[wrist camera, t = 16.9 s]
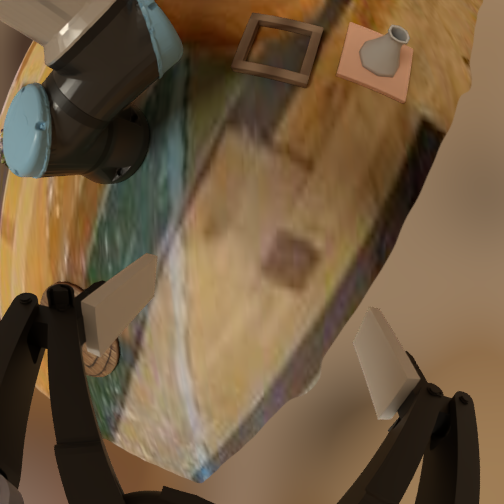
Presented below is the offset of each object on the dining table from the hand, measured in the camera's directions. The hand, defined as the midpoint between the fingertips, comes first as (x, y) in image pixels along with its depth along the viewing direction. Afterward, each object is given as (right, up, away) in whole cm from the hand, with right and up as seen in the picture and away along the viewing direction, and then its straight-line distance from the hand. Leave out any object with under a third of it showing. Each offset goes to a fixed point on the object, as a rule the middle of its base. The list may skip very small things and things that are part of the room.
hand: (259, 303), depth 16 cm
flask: (+20, +34, +17) cm, 43 cm away
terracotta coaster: (+20, +35, +18) cm, 44 cm away
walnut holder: (+4, +36, +20) cm, 41 cm away
